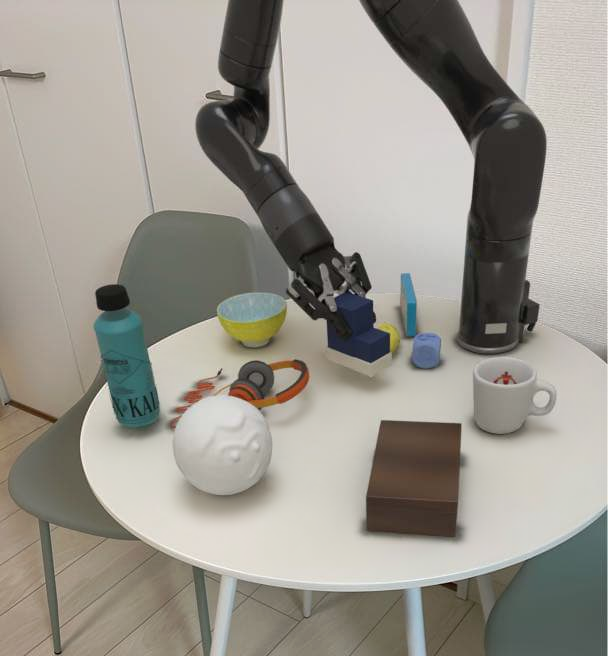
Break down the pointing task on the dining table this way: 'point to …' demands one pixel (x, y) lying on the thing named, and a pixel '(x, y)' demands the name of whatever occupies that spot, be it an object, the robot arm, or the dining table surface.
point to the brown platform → (415, 478)
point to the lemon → (391, 335)
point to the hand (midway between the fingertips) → (360, 330)
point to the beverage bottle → (125, 358)
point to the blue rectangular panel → (408, 305)
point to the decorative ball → (222, 445)
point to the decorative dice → (426, 350)
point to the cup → (507, 394)
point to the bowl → (252, 317)
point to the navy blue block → (359, 338)
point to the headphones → (257, 384)
